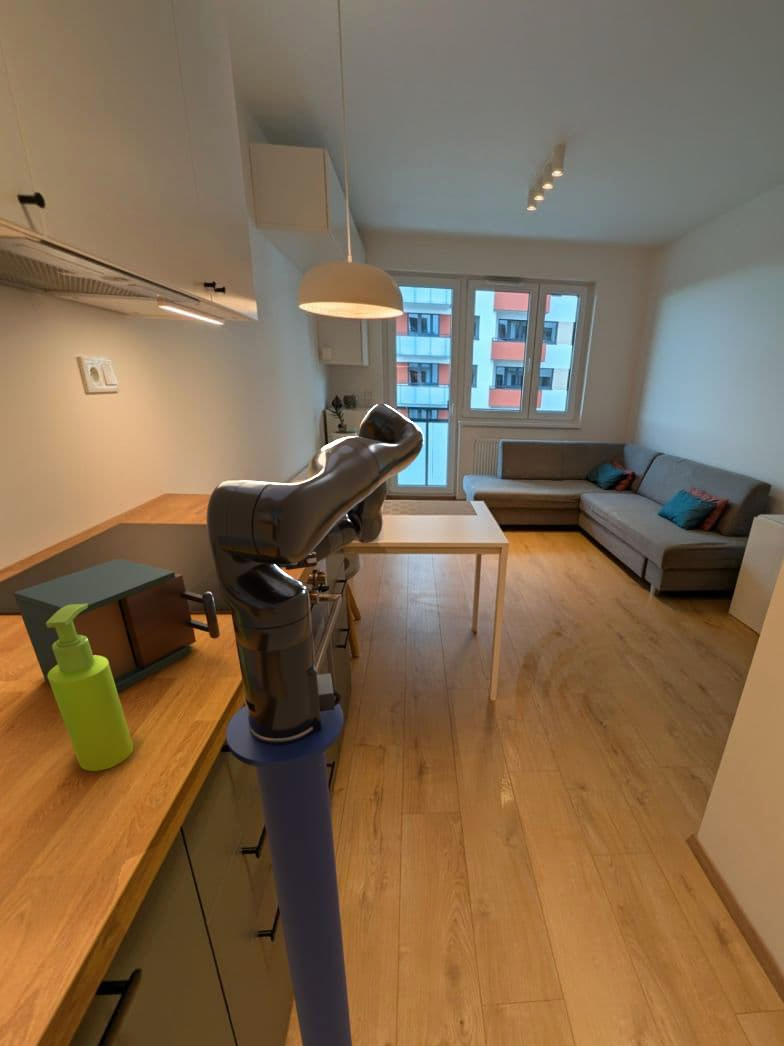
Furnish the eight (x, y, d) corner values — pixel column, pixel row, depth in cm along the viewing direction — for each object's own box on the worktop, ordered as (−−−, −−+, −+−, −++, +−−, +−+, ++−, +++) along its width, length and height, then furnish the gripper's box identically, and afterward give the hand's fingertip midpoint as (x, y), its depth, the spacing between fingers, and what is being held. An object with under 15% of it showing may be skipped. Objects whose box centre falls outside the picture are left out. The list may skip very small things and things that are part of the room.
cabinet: (191, 652, 88) (174, 571, 81) (101, 702, 74) (72, 611, 68) (138, 635, 92) (118, 558, 86) (44, 680, 79) (12, 592, 72)
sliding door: (224, 649, 87) (212, 581, 82) (173, 679, 79) (156, 605, 73) (191, 639, 90) (176, 572, 85) (138, 667, 82) (118, 595, 76)
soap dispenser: (143, 732, 69) (105, 599, 60) (122, 768, 63) (77, 626, 54) (95, 735, 68) (50, 601, 59) (69, 773, 62) (15, 629, 53)
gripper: (344, 564, 106) (289, 595, 91) (293, 553, 110) (233, 581, 96) (342, 529, 103) (284, 556, 88) (289, 520, 107) (227, 543, 93)
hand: (258, 569), depth 92 cm, fingers closed
